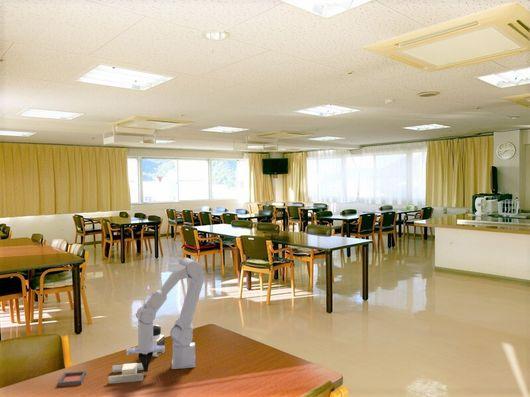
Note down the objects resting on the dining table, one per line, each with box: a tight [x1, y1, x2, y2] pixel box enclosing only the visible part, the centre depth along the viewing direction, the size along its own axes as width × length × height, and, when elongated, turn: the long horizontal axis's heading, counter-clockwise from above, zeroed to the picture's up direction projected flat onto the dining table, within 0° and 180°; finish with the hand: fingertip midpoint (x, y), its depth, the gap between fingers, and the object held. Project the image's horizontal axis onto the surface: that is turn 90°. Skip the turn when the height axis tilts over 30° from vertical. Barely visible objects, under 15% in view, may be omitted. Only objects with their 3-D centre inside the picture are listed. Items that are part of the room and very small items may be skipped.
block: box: [121, 362, 138, 375], centre depth 161 cm, size 5×5×4 cm
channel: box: [108, 362, 144, 385], centre depth 161 cm, size 12×10×2 cm
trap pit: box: [57, 370, 87, 387], centre depth 157 cm, size 8×8×1 cm
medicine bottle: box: [152, 324, 166, 358], centre depth 182 cm, size 7×7×12 cm
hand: (146, 370), depth 162 cm, fingers closed
